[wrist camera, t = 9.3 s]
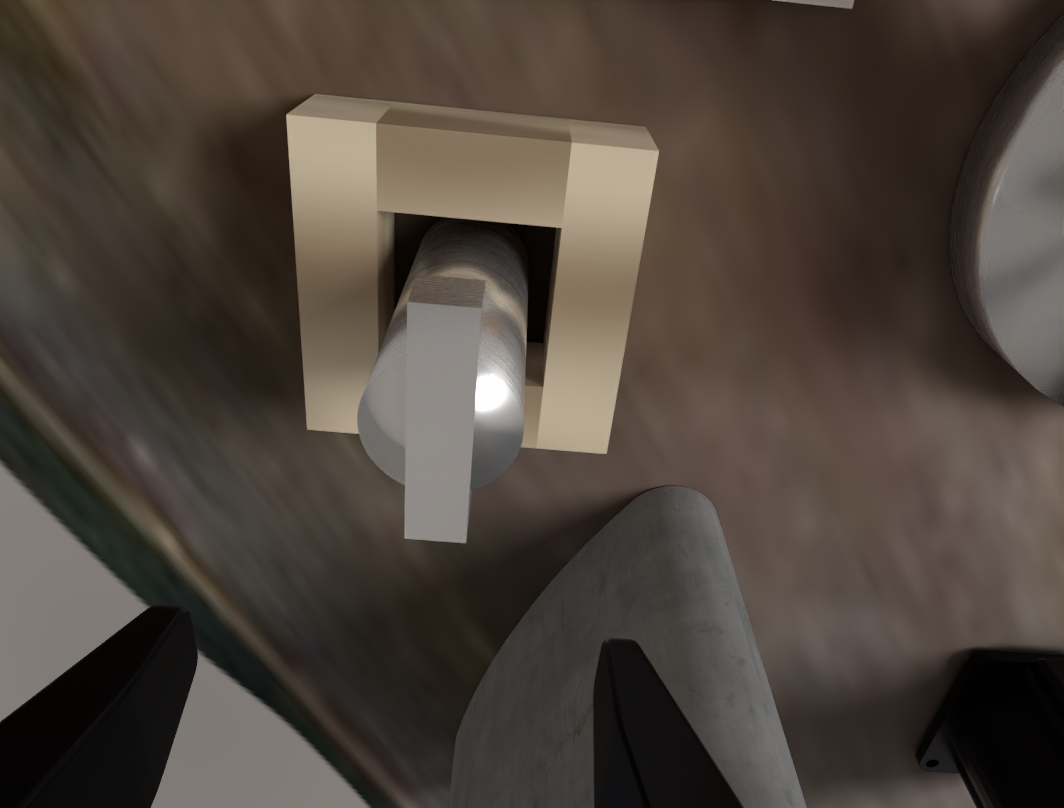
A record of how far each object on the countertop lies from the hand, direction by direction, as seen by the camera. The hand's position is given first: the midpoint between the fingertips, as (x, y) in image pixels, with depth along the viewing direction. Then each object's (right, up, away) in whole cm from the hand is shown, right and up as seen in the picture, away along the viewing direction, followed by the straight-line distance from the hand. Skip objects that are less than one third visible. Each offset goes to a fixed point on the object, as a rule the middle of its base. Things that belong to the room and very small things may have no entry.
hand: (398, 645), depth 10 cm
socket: (0, +7, +11) cm, 13 cm away
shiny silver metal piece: (0, +7, +11) cm, 13 cm away
